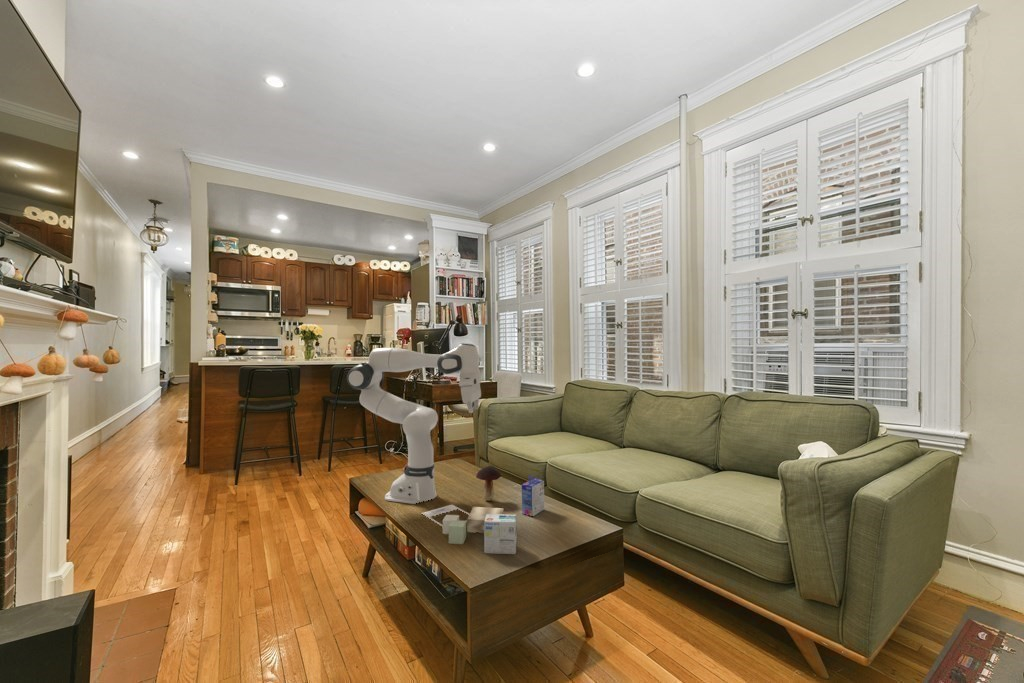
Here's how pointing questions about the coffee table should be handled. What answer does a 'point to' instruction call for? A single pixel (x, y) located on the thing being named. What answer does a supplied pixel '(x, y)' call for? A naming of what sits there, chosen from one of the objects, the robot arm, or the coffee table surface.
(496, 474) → the decorative mushroom
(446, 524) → the off-white block
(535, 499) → the ink cartridge box
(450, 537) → the sage block
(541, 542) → the coffee table surface
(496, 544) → the light bulb box
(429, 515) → the photo frame
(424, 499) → the robot arm
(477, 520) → the birch block
